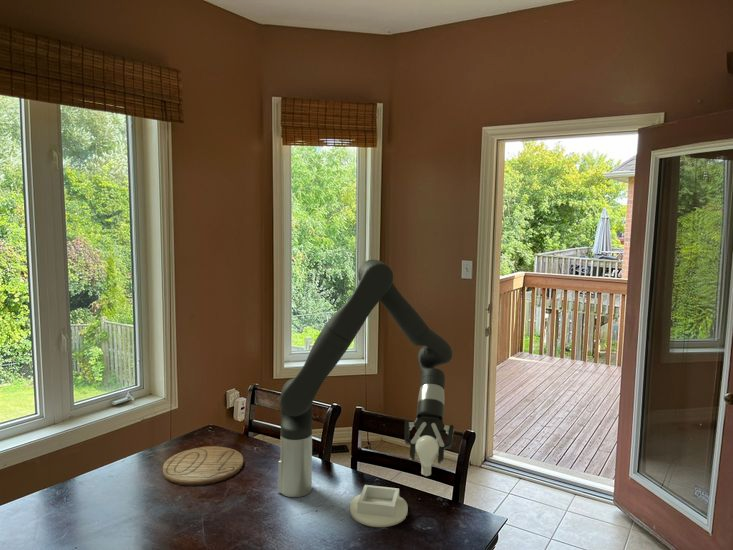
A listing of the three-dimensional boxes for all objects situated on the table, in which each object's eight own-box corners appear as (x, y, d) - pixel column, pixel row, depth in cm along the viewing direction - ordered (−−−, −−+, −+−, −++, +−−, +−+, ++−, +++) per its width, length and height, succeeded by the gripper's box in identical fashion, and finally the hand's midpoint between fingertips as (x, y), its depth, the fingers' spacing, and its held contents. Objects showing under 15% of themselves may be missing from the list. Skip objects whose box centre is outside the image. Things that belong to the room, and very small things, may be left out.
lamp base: (343, 523, 139) (344, 506, 139) (356, 493, 155) (356, 478, 154) (403, 530, 136) (404, 513, 136) (410, 499, 152) (410, 484, 151)
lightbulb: (437, 482, 138) (438, 442, 137) (413, 479, 140) (414, 439, 139) (438, 471, 145) (440, 433, 144) (415, 469, 146) (416, 430, 145)
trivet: (250, 452, 183) (250, 446, 183) (232, 487, 158) (232, 481, 158) (178, 451, 183) (178, 445, 183) (149, 486, 158) (149, 480, 158)
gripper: (405, 395, 149) (398, 452, 139) (456, 399, 146) (453, 458, 136) (406, 407, 155) (400, 463, 144) (456, 411, 152) (453, 469, 141)
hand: (426, 460), depth 140 cm, fingers closed on lightbulb, 6 cm apart
